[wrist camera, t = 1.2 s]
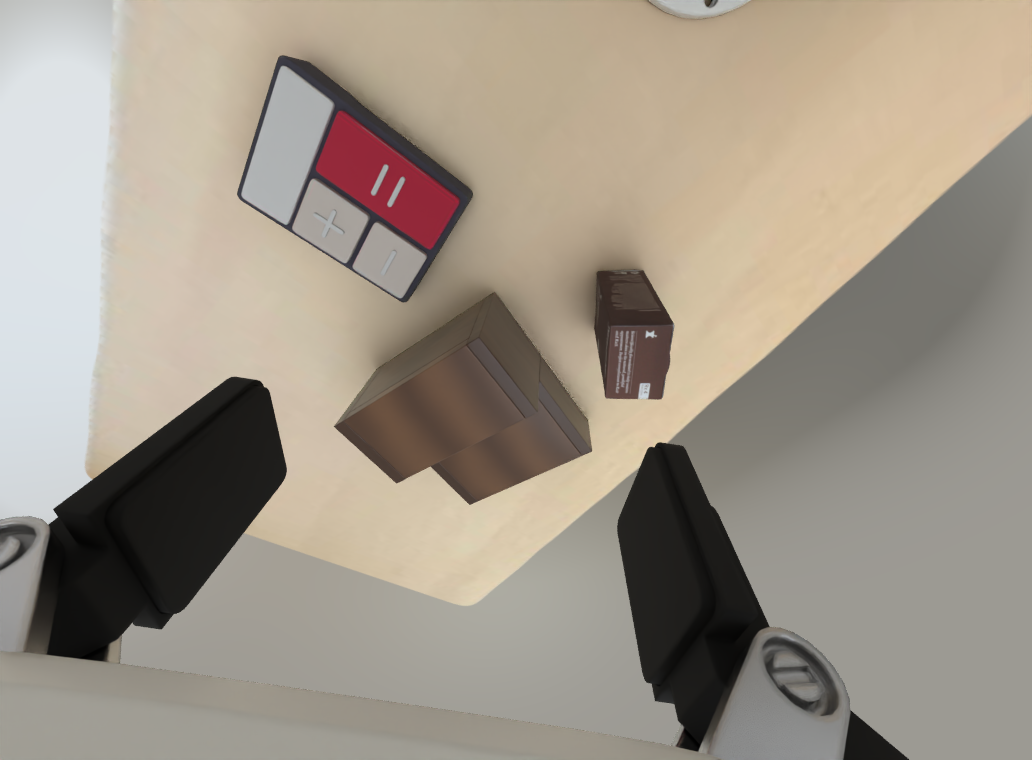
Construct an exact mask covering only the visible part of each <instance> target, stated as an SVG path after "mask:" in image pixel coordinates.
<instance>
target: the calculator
mask: <svg viewBox="0 0 1032 760" xmlns="http://www.w3.org/2000/svg"><path fill="white" fill-rule="evenodd" d="M237 195H238V197H239V199H240V200H241V201H243V202H244V203H246V204H248V205H249V206H251V207H252V208H254V209H255V210H257V211H259V212H260V213H262V214H263V215H265V216H266V217H268V218H270V219H271V220H273V221H274V222H276V223H278V224H279V225H281V226H282V227H284V228H285V229H287V230H289V231H290V232H292V233H293V234H295V235H296V236H298V237H300V238H301V239H303V240H304V241H306V242H308V243H309V244H311V245H312V246H314V247H315V248H317V249H319V250H320V251H322V252H323V253H325V254H326V255H328V256H330V257H331V258H333V259H334V260H336V261H338V262H339V263H341V264H342V265H344V266H345V267H347V268H349V269H350V270H352V271H353V272H355V273H357V274H358V275H360V276H361V277H363V278H364V279H366V280H368V281H369V282H371V283H372V284H374V285H375V286H377V287H379V288H380V289H382V290H383V291H385V292H387V293H388V294H390V295H391V296H393V297H394V298H396V299H398V300H399V301H401V302H407V301H408V300H409V298H410V297H411V296H412V294H413V293H414V291H415V290H416V288H417V286H418V285H419V283H420V281H421V280H422V278H423V277H424V275H425V273H426V272H427V270H428V268H429V267H430V265H431V264H432V262H433V260H434V259H435V257H436V255H437V254H438V252H439V251H440V249H441V247H442V246H443V244H444V242H445V241H446V239H447V238H448V236H449V234H450V233H451V231H452V229H453V228H454V226H455V225H456V223H457V221H458V220H459V218H460V216H461V215H462V213H463V212H464V210H465V208H466V207H467V205H468V204H469V202H470V200H471V198H472V196H473V193H472V191H471V190H470V189H469V188H468V187H467V186H465V185H464V184H463V183H462V182H460V181H459V180H458V179H456V178H455V177H454V176H453V175H451V174H450V173H449V172H447V171H446V170H445V169H444V168H442V167H441V166H440V165H438V164H437V163H436V162H434V161H433V160H432V159H431V158H429V157H428V156H427V155H425V154H424V153H423V152H422V151H420V150H419V149H418V148H416V147H415V146H414V145H413V144H411V143H410V142H409V141H407V140H406V139H405V138H404V137H402V136H401V135H400V134H398V133H397V132H396V131H395V130H393V129H392V128H391V127H389V126H388V125H387V124H385V123H384V122H383V121H382V120H380V119H379V118H378V117H376V116H375V115H374V114H373V113H371V112H370V111H369V110H367V109H366V108H365V107H364V106H362V105H361V104H360V103H359V102H358V101H357V100H356V99H355V98H354V97H353V96H352V95H350V94H349V93H348V92H347V91H345V90H344V89H343V88H342V87H340V86H339V85H338V84H336V83H335V82H334V81H333V80H331V79H330V78H329V77H327V76H326V75H325V74H324V73H322V72H321V71H320V70H318V69H317V68H316V67H315V66H313V65H312V64H311V63H309V62H307V61H303V60H299V59H295V58H292V57H288V56H280V57H279V58H278V60H277V63H276V67H275V70H274V73H273V77H272V80H271V83H270V86H269V90H268V93H267V96H266V100H265V103H264V106H263V110H262V113H261V116H260V119H259V123H258V126H257V129H256V133H255V136H254V139H253V142H252V146H251V149H250V152H249V156H248V159H247V162H246V165H245V169H244V172H243V175H242V179H241V182H240V185H239V188H238V192H237Z"/></svg>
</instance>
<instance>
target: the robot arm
mask: <svg viewBox="0 0 1032 760" xmlns="http://www.w3.org/2000/svg"><path fill="white" fill-rule="evenodd" d="M704 1H705V0H649V2H651V3H652V4H654V5H655V6H657V7H658V8H660V9H661V10H663V11H664V12H666V13H669V14H672V15H675V16H678V17H681V18H690V19H704V18H710V17H715V16H720V15H722V14H725V13H727V12H730V11H732V10H735V9H737V8H739V7H741V6H742V5H744V4H746V3H747V2H749V1H751V0H711V3H710V6H708V7H707V6H706V5H705V2H704ZM286 472H287V467H286V463H285V458H284V454H283V449H282V445H281V440H280V436H279V431H278V427H277V423H276V418H275V414H274V409H273V405H272V400H271V396H270V392H269V390H268V389H267V388H265V387H264V386H263V384H262V383H261V382H260V381H258V380H253V379H246V378H240V377H231V378H229V379H227V380H226V381H224V382H223V383H222V384H220V385H219V386H217V387H216V388H215V389H213V390H212V391H211V392H209V393H208V394H207V395H205V396H204V397H203V398H201V399H200V400H199V401H197V402H196V403H195V404H193V405H192V406H191V407H189V408H188V409H187V410H185V411H184V412H183V413H181V414H180V415H179V416H177V417H176V418H175V419H173V420H172V421H171V422H169V423H168V424H167V425H165V426H164V427H163V428H161V429H160V430H159V431H157V432H156V433H155V434H153V435H152V436H151V437H149V438H148V439H147V440H145V441H144V442H142V443H141V444H140V445H138V446H137V447H136V448H134V449H133V450H132V451H130V452H129V453H128V454H126V455H125V456H124V457H122V458H121V459H120V460H118V461H117V462H116V463H114V464H113V465H112V466H110V467H109V468H108V469H106V470H105V471H104V472H102V473H101V474H100V475H98V476H97V477H96V478H94V479H93V480H92V481H90V482H89V483H88V484H86V485H85V486H84V487H82V488H81V489H80V490H78V491H77V492H76V493H74V494H73V495H72V496H70V497H69V498H67V499H66V500H65V501H63V502H62V503H61V504H60V505H58V506H57V507H56V508H54V509H53V510H54V511H55V513H56V514H57V516H58V518H56V519H55V520H54V521H53V522H51V523H50V524H49V525H48V524H47V523H46V522H45V521H43V520H42V519H39V518H35V517H30V516H29V517H12V518H6V519H1V520H0V760H909V759H907V757H905V756H904V755H903V754H902V753H901V752H900V751H898V750H897V749H896V748H895V747H893V746H892V745H891V744H889V742H888V741H886V740H885V739H884V738H883V737H882V736H881V735H879V734H878V733H877V732H876V731H874V730H873V729H872V728H871V727H870V726H869V725H867V724H866V723H865V722H864V721H863V720H861V719H860V718H859V717H858V716H857V715H856V714H854V713H853V712H852V711H851V710H850V699H849V696H848V693H847V690H846V688H845V685H844V683H843V681H842V679H841V678H840V676H839V674H838V673H837V671H836V670H835V668H834V667H833V665H832V664H831V663H830V662H829V661H828V660H827V658H826V657H825V656H824V655H823V654H822V653H821V652H820V651H819V650H817V648H815V647H814V646H813V645H812V644H811V643H810V642H808V641H807V640H805V639H804V638H802V637H800V636H799V635H797V634H795V633H794V632H791V631H788V630H785V629H782V628H776V627H775V628H774V627H769V625H768V622H767V620H766V618H765V616H764V613H763V611H762V609H761V607H760V605H759V602H758V600H757V598H756V596H755V594H754V592H753V589H752V587H751V585H750V583H749V581H748V578H747V576H746V574H745V572H744V570H743V567H742V565H741V563H740V561H739V559H738V556H737V554H736V552H735V550H734V548H733V545H732V543H731V541H730V539H729V537H728V534H727V532H726V530H725V528H724V526H723V524H722V521H721V519H720V517H719V515H718V513H717V512H716V510H715V509H714V508H713V507H712V506H711V505H710V503H709V501H708V499H707V496H706V494H705V492H704V490H703V487H702V485H701V483H700V481H699V479H698V476H697V474H696V472H695V469H694V467H693V465H692V463H691V461H690V458H689V456H688V454H687V452H686V450H685V448H684V447H683V446H680V445H674V444H667V443H661V442H660V443H657V444H656V446H655V448H654V447H649V448H648V450H647V452H646V454H645V456H644V459H643V461H642V464H641V466H640V468H639V471H638V473H637V476H636V478H635V481H634V483H633V485H632V488H631V490H630V493H629V495H628V497H627V500H626V502H625V505H624V507H623V509H622V512H621V514H620V517H619V519H618V526H617V529H618V530H617V531H618V538H619V543H620V549H621V555H622V560H623V566H624V571H625V577H626V583H627V588H628V594H629V600H630V606H631V611H632V617H633V622H634V628H635V634H636V639H637V645H638V651H639V656H640V662H641V667H642V673H643V676H644V679H645V681H646V682H647V683H652V687H653V693H654V698H655V701H659V702H666V703H672V704H675V709H676V713H677V717H678V721H679V722H680V723H681V725H680V727H679V730H678V732H677V734H676V736H675V738H674V740H673V742H672V744H671V746H669V745H665V744H660V743H654V742H648V741H642V740H636V739H630V738H625V737H619V736H613V735H607V734H601V733H595V732H589V731H584V730H578V729H571V728H565V727H558V726H551V725H545V724H538V723H530V722H524V721H518V720H511V719H504V718H498V717H491V716H484V715H478V714H471V713H464V712H457V711H450V710H443V709H437V708H430V707H424V706H417V705H409V704H403V703H396V702H389V701H382V700H375V699H368V698H361V697H354V696H347V695H340V694H333V693H326V692H319V691H312V690H306V689H299V688H291V687H285V686H278V685H270V684H263V683H256V682H249V681H242V680H235V679H226V678H220V677H212V676H206V675H198V674H191V673H184V672H177V671H169V670H162V669H155V668H147V667H141V666H133V665H126V664H120V654H121V639H122V634H123V633H124V631H125V630H126V629H127V628H128V627H129V626H130V625H131V623H133V624H134V625H135V626H141V627H148V628H155V629H162V628H163V627H164V626H165V624H166V623H167V622H168V621H169V619H170V618H171V617H172V616H173V614H177V613H179V612H181V611H182V610H183V609H184V608H185V607H186V606H187V605H188V604H189V603H190V601H191V600H192V599H193V598H194V596H195V595H196V594H197V592H198V591H199V590H200V588H201V587H202V586H203V585H204V583H205V582H206V581H207V579H208V578H209V577H210V575H211V574H212V573H213V572H214V570H215V569H216V568H217V566H218V565H219V564H220V563H221V561H222V560H223V559H224V557H225V556H226V555H227V553H228V552H229V551H230V550H231V548H232V547H233V546H234V545H235V543H236V542H237V541H238V539H239V538H240V537H241V535H242V534H243V533H244V532H245V530H246V529H247V528H248V526H249V525H250V524H251V523H252V521H253V520H254V519H255V517H256V516H257V515H258V514H259V512H260V511H261V510H262V508H263V507H264V506H265V505H266V503H267V502H268V501H269V499H270V498H271V497H272V495H273V494H274V493H275V492H276V490H277V489H278V488H279V486H280V485H281V484H282V482H283V481H284V479H285V476H286Z"/></svg>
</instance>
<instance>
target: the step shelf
mask: <svg viewBox="0 0 1032 760" xmlns="http://www.w3.org/2000/svg"><path fill="white" fill-rule="evenodd" d="M334 427H335V428H336V429H337V430H338V431H339V432H340V433H342V434H343V435H344V436H345V437H346V438H347V439H348V440H349V441H350V442H351V443H353V444H354V445H355V446H356V447H357V448H358V449H359V450H360V451H361V452H362V453H364V454H365V455H366V456H367V457H368V458H369V459H370V460H371V461H372V462H373V463H375V464H376V465H377V466H378V467H379V468H380V469H381V470H382V471H383V472H384V473H386V474H387V475H388V476H389V477H390V478H391V479H392V480H393V481H394V482H395V483H398V482H400V481H402V480H404V479H406V478H408V477H410V476H412V475H414V474H416V473H418V472H420V471H422V470H424V469H426V468H428V467H430V466H431V467H432V468H433V469H434V470H435V471H436V472H437V473H438V474H439V475H440V476H441V477H442V478H443V479H444V480H445V481H446V482H447V483H448V484H449V485H450V486H451V487H452V488H453V489H454V490H455V491H456V492H457V493H458V494H459V495H460V496H461V497H462V498H463V499H464V500H465V501H466V502H467V503H468V504H469V505H471V504H473V503H475V502H477V501H480V500H482V499H484V498H487V497H489V496H491V495H493V494H496V493H498V492H500V491H503V490H505V489H507V488H509V487H512V486H514V485H516V484H519V483H521V482H523V481H525V480H528V479H530V478H532V477H535V476H537V475H539V474H541V473H544V472H546V471H548V470H551V469H553V468H555V467H557V466H560V465H562V464H564V463H567V462H569V461H571V460H573V459H576V458H578V457H580V456H582V455H585V454H587V453H589V452H592V446H591V439H590V431H589V424H588V421H587V419H586V418H585V416H584V415H583V414H582V412H581V411H580V409H579V408H578V407H577V405H576V404H575V403H574V401H573V400H572V398H571V397H570V396H569V394H568V393H567V391H566V390H565V389H564V387H563V386H562V384H561V383H560V382H559V380H558V379H557V378H556V376H555V375H554V373H553V372H552V371H551V369H550V368H549V366H548V365H547V364H546V362H545V361H544V359H543V358H542V357H541V356H540V354H539V353H538V351H537V350H536V348H535V347H534V346H533V344H532V343H531V341H530V340H529V339H528V337H527V336H526V335H525V333H524V332H523V330H522V329H521V328H520V326H519V325H518V323H517V322H516V321H515V319H514V318H513V316H512V315H511V314H510V312H509V311H508V310H507V308H506V307H505V305H504V304H503V303H502V301H501V300H500V298H499V297H498V296H497V294H496V293H495V292H494V293H492V294H491V295H489V296H488V297H486V298H485V299H483V300H482V301H480V302H479V303H477V304H476V305H474V306H472V307H471V308H469V309H468V310H466V311H465V312H463V313H462V314H460V315H459V316H457V317H456V318H454V319H453V320H451V321H450V322H448V323H447V324H445V325H444V326H442V327H440V328H439V329H437V330H436V331H434V332H433V333H431V334H430V335H428V336H427V337H425V338H424V339H422V340H421V341H419V342H418V343H416V344H415V345H413V346H412V347H410V348H409V349H407V350H405V351H404V352H402V353H401V354H399V355H398V356H396V357H395V358H393V359H392V360H390V361H389V362H387V363H386V364H384V365H383V366H381V367H379V368H378V369H376V371H375V372H374V373H373V375H372V376H371V378H370V379H369V380H368V382H367V383H366V384H365V386H364V387H363V388H362V390H361V391H360V392H359V394H358V395H357V396H356V398H355V399H354V400H353V402H352V403H351V404H350V406H349V407H348V408H347V410H346V411H345V412H344V414H343V415H342V417H341V418H340V419H339V421H338V422H337V423H336V425H335V426H334Z"/></svg>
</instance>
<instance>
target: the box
mask: <svg viewBox="0 0 1032 760" xmlns="http://www.w3.org/2000/svg"><path fill="white" fill-rule="evenodd" d="M596 284H597V287H596V316H595V327H594V329H595V335H596V341H597V347H598V353H599V359H600V365H601V372H602V377H603V384H604V390H605V397H606V398H610V399H662V398H663V394H664V387H665V379H666V374H667V372H668V369H669V366H670V349H671V343H672V337H673V331H674V323H673V321H672V320H671V318H670V316H669V314H668V313H667V311H666V309H665V307H664V306H663V304H662V302H661V301H660V299H659V297H658V295H657V294H656V292H655V290H654V288H653V287H652V285H651V283H650V281H649V280H648V278H647V276H646V275H645V273H644V271H643V270H620V271H601V272H599V271H598V272H597V283H596Z"/></svg>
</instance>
